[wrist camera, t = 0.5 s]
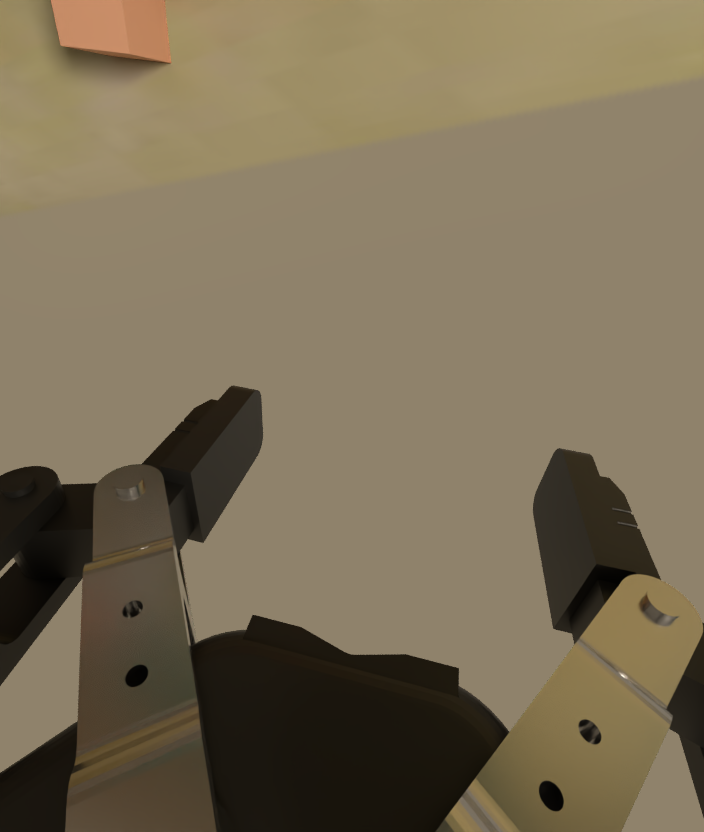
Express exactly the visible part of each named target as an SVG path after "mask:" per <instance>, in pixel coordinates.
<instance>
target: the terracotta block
mask: <svg viewBox="0 0 704 832" xmlns="http://www.w3.org/2000/svg"><path fill="white" fill-rule="evenodd" d="M51 3H52V7H53V12H54V17H55V21H56V26H57V30H58V35H59V40H60V44H61V46H64V47H69V48H74V49H79V50H84V51H89V52H94V53H99V54H104V55H108V56H116V57H124V58H132V59H141V60H149V61H158V62H166V63H171V57H170V47H169V38H168V28H167V19H166V9H165V0H51Z"/></svg>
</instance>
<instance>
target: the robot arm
mask: <svg viewBox="0 0 704 832" xmlns="http://www.w3.org/2000/svg"><path fill="white" fill-rule="evenodd" d="M262 439H263V427H262V404H261V394H260V392H259V391H258V390H254V389H248V388H243V387H238V386H231V387H230V388H229V389H228V390H227V391H226V392H225V393H224V394H223V395H222V397H221V398H220V399H219V400H218V401H217V400H212V399H211V400H209V401H207V402H205V403H203V404H201V405H199V406H197V407H196V408H194V409H193V410H192V411H191V412H190V414H189V415H188V416H187V417H186V418H185V419H184V422H181V423H180V424H179V425H178V426H177V427H176V428H175V431H173V432H172V433H171V434H170V435H169V436H168V437H167V438H166V439H165V440H164V441H163V442H162V443H161V444H160V445H159V446H158V447H157V448H156V450H155V451H154V452H153V453H152V454H151V455H150V456H149V457H148V458H147V459H146V460H145V461H144V462H143V463H142V464H138V465H137V464H136V465H128V466H124V467H121V468H119V469H116V470H114V471H112V472H110V473H108V474H107V475H105V476H104V477H103V478H102V479H101V480H100V481H99V482H98V483H93V484H63V485H61V483H60V481H59V478H58V476H57V474H56V473H55V472H54V471H53V470H52V469H50V468H47V467H41V466H31V467H24V468H19V469H16V470H13V471H10V472H7V473H5V474H3V475H1V476H0V571H1V570H2V568H3V567H4V566H5V565H6V564H7V563H8V562H9V561H10V560H11V559H12V558H14V559H15V561H16V562H15V563H14V564H13V565H12V567H10V568H9V569H8V571H7V572H6V573H5V574H4V575H3V576H2V577H1V578H0V686H1V684H2V683H3V682H4V680H5V679H6V678H7V676H8V675H9V674H10V672H11V671H12V670H13V668H14V667H15V666H16V665H17V663H18V662H19V660H20V659H21V658H22V657H23V655H24V654H25V653H26V651H27V650H28V649H29V647H30V646H31V645H32V643H33V642H34V641H35V639H36V638H37V637H38V636H39V634H40V633H41V632H42V630H43V629H44V628H45V626H46V625H47V624H48V622H49V621H50V620H51V619H52V617H53V616H54V615H55V613H56V612H57V611H58V609H59V608H60V607H61V605H62V604H63V603H64V602H65V600H66V599H67V598H68V596H69V595H70V594H71V592H72V591H73V590H74V588H75V587H76V586H77V584H78V583H79V582H80V581H81V579H82V578H83V582H82V611H81V640H80V668H79V696H78V698H79V699H78V721H77V722H76V723H74V724H73V725H71V726H70V727H68V728H67V729H65V730H64V731H62V732H61V733H59V734H58V735H56V736H55V737H53V738H52V739H50V740H49V741H48V742H46V743H44V744H43V745H41V746H40V747H38V748H37V749H35V750H34V751H32V752H31V753H29V754H28V755H26V756H25V757H23V758H22V759H20V760H19V761H17V762H16V763H14V764H13V765H11V766H10V767H9V768H7V769H6V770H4V771H2V772H1V773H0V832H621V831H622V829H623V827H624V824H625V822H626V820H627V818H628V816H629V814H630V811H631V809H632V807H633V805H634V803H635V801H636V799H637V797H638V794H639V792H640V790H641V788H642V786H643V784H644V782H645V779H646V777H647V775H648V773H649V771H650V768H651V766H652V764H653V762H654V760H655V758H656V756H657V753H658V751H659V749H660V747H661V745H662V743H663V740H664V738H665V736H666V734H667V732H668V730H669V729H671V730H673V731H674V732H676V733H678V734H679V736H680V740H681V743H682V746H683V750H684V753H685V756H686V760H687V763H688V766H689V770H690V773H691V776H692V780H693V783H694V787H695V790H696V793H697V796H698V800H699V803H700V807H701V810H702V814H703V817H704V623H702V620H701V618H700V615H699V613H698V612H697V610H696V609H695V607H694V606H693V605H692V603H691V602H690V601H689V600H688V599H687V598H686V597H685V596H684V595H683V594H681V593H680V592H679V591H678V590H677V589H675V588H674V587H672V586H671V585H669V584H667V583H666V582H664V581H661V579H660V576H659V574H658V572H657V569H656V567H655V565H654V562H653V560H652V558H651V556H650V553H649V551H648V548H647V546H646V544H645V541H644V539H643V537H642V534H641V532H640V530H639V529H637V526H638V525H637V523H636V521H635V518H634V516H633V515H632V514H631V509H630V506H629V504H628V502H627V499H626V497H625V495H624V494H623V492H622V491H621V490H620V489H619V488H618V487H617V486H616V485H615V484H614V483H613V482H612V481H611V479H610V478H607V477H601V476H600V475H599V473H598V470H597V467H596V465H595V462H594V460H593V457H592V456H591V455H590V454H586V453H581V452H576V451H571V450H565V449H560V448H559V449H557V450H556V451H555V452H554V454H553V456H552V458H551V460H550V463H549V465H548V467H547V469H546V471H545V473H544V476H543V478H542V480H541V482H540V484H539V486H538V489H537V491H536V494H535V497H534V503H533V515H534V521H535V527H536V533H537V538H538V544H539V550H540V555H541V561H542V567H543V573H544V578H545V584H546V590H547V596H548V601H549V607H550V613H551V618H552V624H553V628H554V629H556V630H560V631H565V632H568V633H572V635H573V640H574V646H573V647H572V649H571V650H570V651H569V653H568V654H567V656H566V657H565V658H564V660H563V661H562V662H561V664H560V665H559V666H558V668H557V669H556V670H555V672H554V673H553V674H552V676H551V677H550V678H549V680H548V681H547V682H546V684H545V685H544V687H543V688H542V689H541V691H540V692H539V693H538V694H537V696H536V697H535V699H534V700H533V701H532V703H531V704H530V705H529V707H528V708H527V709H526V711H525V712H524V713H523V715H522V716H521V717H520V719H519V720H518V721H517V723H516V724H515V726H514V727H513V728H512V729H511V731H510V732H509V731H508V730H507V728H506V727H505V726H504V725H503V723H502V722H501V721H500V720H499V719H498V718H497V717H496V716H495V714H494V713H493V712H492V711H491V710H490V709H489V708H487V706H485V705H484V704H483V703H482V702H481V701H480V700H478V699H477V698H476V697H475V696H473V695H472V694H470V693H469V692H468V691H466V690H465V689H463V688H461V687H459V686H458V684H459V681H458V680H459V668H456V667H452V666H448V665H444V664H440V663H436V662H433V661H429V660H425V659H421V658H417V657H413V656H410V655H406V654H405V655H404V654H403V655H402V654H401V655H351V654H348V653H345V652H343V651H342V650H340V649H338V648H336V647H334V646H333V645H331V644H329V643H328V642H326V641H324V640H322V639H321V638H319V637H317V636H316V635H313V634H312V633H310V632H309V631H307V630H305V629H303V628H302V627H298V626H294V625H290V624H287V623H283V622H279V621H275V620H271V619H268V618H264V617H260V616H256V615H253V616H252V618H251V620H250V623H249V625H248V627H247V630H237V631H231V632H225V633H221V634H218V635H214V636H211V637H209V638H206V639H204V640H201V641H199V642H197V638H196V633H195V629H194V623H193V618H192V613H191V607H190V602H189V595H188V590H187V585H186V578H185V572H184V567H183V561H182V556H181V551H180V550H181V548H182V547H183V545H184V544H185V542H186V541H187V539H190V540H194V541H198V542H204V541H205V539H206V538H207V536H208V534H209V533H210V531H211V530H212V528H213V526H214V525H215V523H216V522H217V520H218V518H219V517H220V515H221V514H222V512H223V510H224V509H225V507H226V506H227V504H228V502H229V501H230V499H231V498H232V496H233V494H234V492H235V491H236V489H237V488H238V486H239V485H240V483H241V481H242V480H243V478H244V477H245V475H246V473H247V472H248V470H249V468H250V467H251V465H252V464H253V462H254V461H255V459H256V457H257V456H258V453H259V451H260V448H261V445H262Z"/></svg>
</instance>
